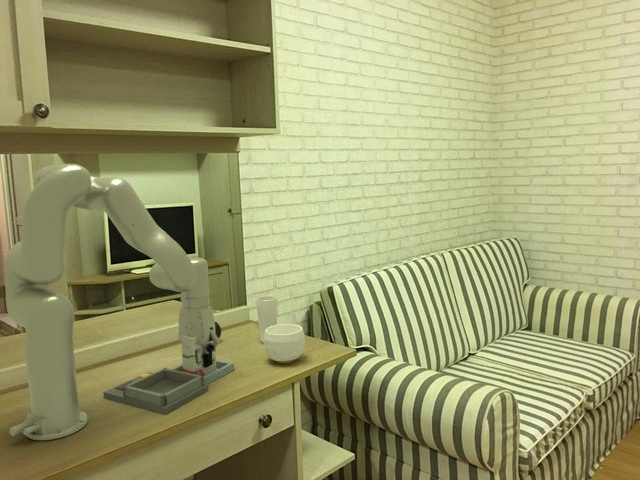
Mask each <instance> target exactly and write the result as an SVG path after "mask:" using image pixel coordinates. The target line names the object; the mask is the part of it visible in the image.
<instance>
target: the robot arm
mask: <svg viewBox="0 0 640 480" xmlns="http://www.w3.org/2000/svg"><path fill="white" fill-rule="evenodd" d="M72 208H76V209H77V208H79V209H83V210H86V211H87V210H88V211H94V212H104V213H105V214H106V216H108V218H109V219H110V221H111V222H112V224H113V225H114V226H115V227H116V229H117V232H119V233H120V235H121V237H122V238H123V239H124V241H125V242H126V243H127V244H128V245H129V246H131V247H132V248H134V249H135V250H137V251H139V252H140V253H143V254H144V255H145V256H148V257H149V258H150V259H152V260H153V261H154V262H155V264H153V265H152V266H151V268H150V269H149V273H148V277H149V281H150V283H151V284H153V286H155V287H156V288H159V289H162V290H169V291H174V292H178V293H181V297H180V301H181V304H182V305H181V306H180V308H179V315H178V334H177V339H178V340H179V341H180V342H181V344H182V337H183V336H184V335H185V336H190V337H194V338H197V344H198V345H202V347H203V350H204V354H203V366H204V368H207V367H209V366H211V365H212V364H213V359H212V352H213V351H214V349H215V348H216V349H217V347H218V346H219V345H220V344H221V340H220V338H218V337H217V335H216V331H215V322H216V321H215V317H214V316H215V315H214V313H213V308H212V306H211V302H210V300H211V299H210V286H209V285H210V284H209V283H210V282H209V266H208V260H207V259H206V258H204V257H189V256H188V254H187V253H186V251H185V250H184V249H183V248H182V246H181V245H180V244H179V243H178V242H177V241H176V240H174V238H172V237H171V236H170V235H169V234H168V233H167V232H166V231H165V230H163V229H162V227H160V226H159V225H158V224H157V222H155V220H154V218H153V217H152V215H151V214H150V212H149V211H148V209H147V208H146V206H145V205H144V203H143V202H142V200H141V199H140V197H139V196H138V194H137V193H136V191H135V189H134V188H133V186H132V185H131V184H130V182H128V181H127V180H126V179H123V178H122V177H118V176H117V177H114V176H109V177H108V176H107V177H97V176H92V174H91V173H90V171H89V170H88V169H87V168H86V167H84V166H82V165H79V164H77V163H62V164H54V165H47V166H45V167H42V168H41V169H39V170H38V171H37V172H36V173H35V175H34V178H33V189H32V190H31V192H30V193H29V195H28V196H27V198H26V200H25V203H24V205H23V209H22V215H21V217H22V218H21V240H20V241H18V242H17V243H15V244H14V245H13V246H12V247H11V248H10V249H9V250H8V252H7V254H6V258H5V262H4V286H5V305H6V310H7V314H8V317H9V318H10V319H11V320H12V322H14V323H15V324H17V325H18V326H20V327H23V328H24V329H25V331H26V334H25V335H26V337H25V347H24V349H25V350H24V351H25V366H26V372H27V382H28V383H27V384H28V391H29V400H30V402H29V403H30V411H31V412H30V413H28V414H26V419H25V420H23V421H22V423H19V424H16V425H14V426H12V427H10V428H9V434H10V436H11V437H16V436H17V435H20V434H22V433H23V435H24V436H26V437H27V438H28V439H29V440H30V439H31V440H33V441H50V440H56V439H60V438H64V437H67V436H70V435H72V434H74V433H76V432H78V431H79V430H82V428H84V427H85V426H86V425H87V423H88V421H89V419H88V414H87V413H86V412H84V411H83V410H82V411H81V410H80V405H79V403H80V402H79V394H78V393H79V392H78V382H77V381H78V380H77V372H76V370H77V369H76V360H75V351H74V324H75V311H74V307H73V304H72V303H71V301H70V300H69V298H68V297H67V296H66V295H64V294H62V293H60V292H58V291H56V290H53V289H51V284H54V283H57V282H59V281H60V280H61V279H62V278H63V277H64V276H65V274H66V271H67V265H68V264H67V263H68V258H67V235H66V233H67V232H66V231H67V221H68V220H67V219H68V215H69V213H70V211H71V209H72ZM212 341H213V343H212ZM207 344H208V346H209V347H208V348H207Z"/></svg>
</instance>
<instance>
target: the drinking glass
mask: <svg viewBox="0 0 640 480" xmlns="http://www.w3.org/2000/svg"><path fill="white" fill-rule="evenodd" d="M256 310H257V311H256V312H257V318H258V325H259V332H260V333H259V335H260V342H261V343H263V344H264V333H265V330H266V329H267V328H268V327H270V326H274V325H278V299H277V296H275V295H262V296H259V297H257V298H256Z"/></svg>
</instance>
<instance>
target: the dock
mask: <svg viewBox="0 0 640 480" xmlns="http://www.w3.org/2000/svg"><path fill="white" fill-rule="evenodd" d="M209 391H210V390H209V384H207V385H205V384H204V376H201V375H196V374H191V373H186V372H181V371H177V370H172V368H168V367H167V368H166V367H164V368H162V369H159V370H158V371H155V372H149V371H148V372H146V373H144V374H141V375H139V376H136V377H134V378H133V379H130V380H127V381H126V382H124V383H121V384H118V385H116V386H114V387H112V388H110V389H107V390H105V391H103V393H102V394H103V398H104V399H106V400H107V399H108V400H110V401H114V402H117V403H121V404H126V405H129V406H133V407H137V408H141V409H144V410H147V411H151V412H155V413H159V414H162V415H168V414H170V413H171V412H173V411H175V410H177V409H180V407H182V406H184V405H186V404H187V403H189V402H191V401H193V400H195V399H197V398H199V397H200V396H202V395H204V394H205V393H207V392H209Z"/></svg>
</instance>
